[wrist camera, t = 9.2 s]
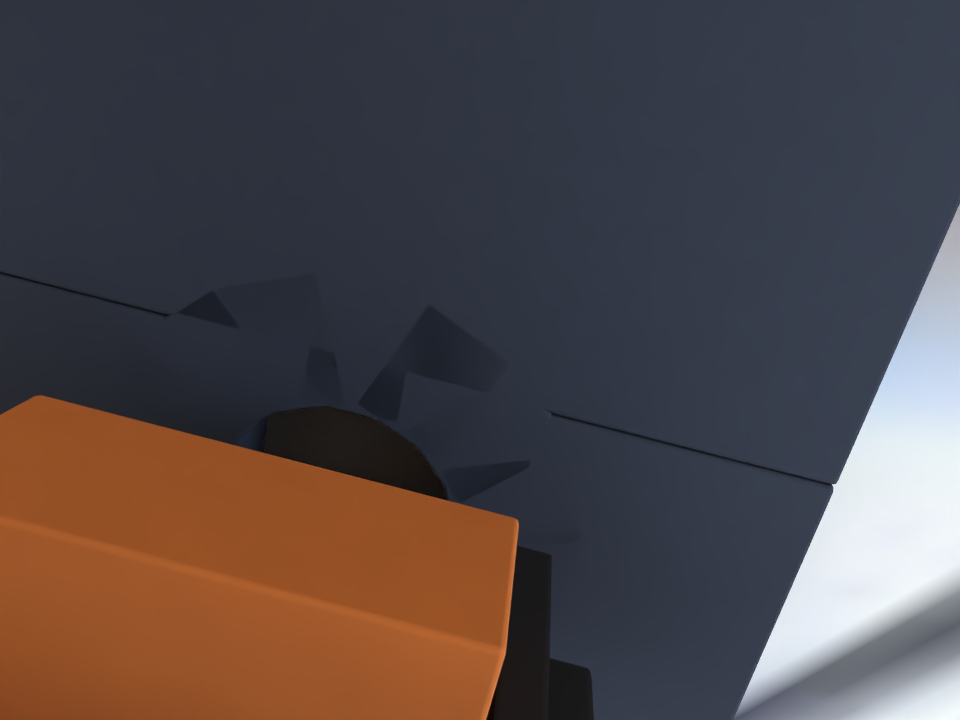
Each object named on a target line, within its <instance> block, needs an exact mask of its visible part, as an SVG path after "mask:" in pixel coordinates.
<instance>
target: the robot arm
mask: <svg viewBox="0 0 960 720" xmlns="http://www.w3.org/2000/svg"><path fill="white" fill-rule="evenodd" d="M551 574H552V555H551V554H548V553H544V552H540V551H536V550H532V549H528V548H525V547H521V546H517V549H516V559H515V568H514V578H513V588H512V598H511V607H510V617H509V627H508V637H507V646H506V655H505V658H504V661H503V665H502V668H501V671H500V675H499V678H498V681H497V685H496V688H495V691H494V695H493V698H492V701H491V705H490V708H489V711H488V715H487V718H486V720H594V710H593V691H592V678H591V672H590V670H589V668H586V667H582V666H578V665H574V664H571V663H567V662H563V661H559V660H556V659H552V658H550V618H551Z"/></svg>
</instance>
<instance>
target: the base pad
mask: <svg viewBox="0 0 960 720" xmlns="http://www.w3.org/2000/svg"><path fill="white" fill-rule="evenodd" d="M959 204H960V0H0V415H1V414H3V413H4V412H6V411H8V410H10V409H12V408H14V407H15V406H17V405H19V404H21V403H23V402H25V401H27V400H28V399H30V398H32V397H34V396H38V395H43V396H47V397H51V398H54V399H58V400H62V401H66V402H70V403H74V404H78V405H81V406H85V407H89V408H93V409H97V410H101V411H105V412H108V413H112V414H116V415H120V416H124V417H128V418H132V419H135V420H139V421H143V422H147V423H151V424H155V425H159V426H162V427H166V428H170V429H174V430H178V431H182V432H186V433H189V434H193V435H197V436H201V437H205V438H209V439H212V440H216V441H220V442H224V443H228V444H232V445H236V446H239V447H243V448H247V449H251V450H255V451H259V452H263V453H264V450H263V446H264V439H265V433H266V426H267V419H268V415H270V414H272V413H274V412H275V411H283V410H291V409H299V408H308V407H316V406H324V405H325V406H328V407H332V408H336V409H340V410H344V411H348V412H352V413H356V414H360V415H363V416H367V417H371V418H375V419H377V420H378V421H379V422H381V423H382V424H384V425H385V426H387V427H388V428H390V429H391V430H392V431H394V432H395V433H397V434H398V435H400V436H401V437H403V438H404V439H405V440H407V441H408V442H410V443H411V444H413V445H414V446H416V447H417V448H418V449H419V451H420V452H421V454H422V455H423V457H424V458H425V460H426V461H427V463H428V464H429V466H430V467H431V469H432V470H433V471H434V473H435V474H436V476H437V477H438V479H439V480H440V482H441V483H442V485H443V486H444V491H445V496H446V500H448V501H451V502H455V503H459V504H463V505H467V506H471V507H475V508H478V509H482V510H486V511H490V512H494V513H498V514H502V515H505V516H509V517H513V518H515V519H517V520H518V523H519V529H518V539H517V546H521V547H525V548H528V549H532V550H536V551H540V552H544V553H548V554H551V555H552V574H551V618H550V658H552V659H556V660H559V661H563V662H567V663H571V664H574V665H578V666H582V667H586V668H589V670H590V672H591V678H592V691H593V710H594V720H733V719H734V716H735V714H736V712H737V710H738V707H739V705H740V703H741V700H742V698H743V696H744V694H745V691H746V689H747V687H748V684H749V682H750V680H751V678H752V675H753V673H754V671H755V669H756V666H757V664H758V662H759V659H760V657H761V655H762V653H763V650H764V648H765V646H766V644H767V641H768V639H769V637H770V634H771V632H772V630H773V628H774V625H775V623H776V621H777V618H778V616H779V614H780V612H781V609H782V607H783V605H784V603H785V600H786V598H787V596H788V593H789V591H790V589H791V587H792V584H793V582H794V580H795V577H796V575H797V573H798V571H799V568H800V566H801V564H802V562H803V559H804V557H805V555H806V552H807V550H808V548H809V546H810V543H811V541H812V539H813V537H814V534H815V532H816V530H817V527H818V525H819V523H820V521H821V518H822V516H823V514H824V511H825V509H826V507H827V505H828V502H829V500H830V498H831V496H832V493H833V486H832V485H831V484H836V483H837V481H838V479H839V477H840V475H841V472H842V470H843V468H844V466H845V463H846V461H847V459H848V457H849V454H850V452H851V450H852V447H853V445H854V443H855V441H856V438H857V436H858V434H859V431H860V429H861V427H862V425H863V422H864V420H865V418H866V416H867V413H868V411H869V409H870V406H871V404H872V402H873V400H874V397H875V395H876V393H877V391H878V388H879V386H880V384H881V381H882V379H883V377H884V375H885V372H886V370H887V368H888V365H889V363H890V361H891V359H892V356H893V354H894V352H895V350H896V347H897V345H898V343H899V340H900V338H901V336H902V334H903V331H904V329H905V327H906V324H907V322H908V320H909V318H910V315H911V313H912V311H913V309H914V306H915V304H916V302H917V299H918V297H919V295H920V293H921V290H922V288H923V286H924V284H925V281H926V279H927V277H928V274H929V272H930V270H931V268H932V265H933V263H934V261H935V258H936V256H937V254H938V252H939V249H940V247H941V245H942V243H943V240H944V238H945V236H946V233H947V231H948V229H949V227H950V224H951V222H952V220H953V217H954V215H955V213H956V211H957V208H958V206H959Z"/></svg>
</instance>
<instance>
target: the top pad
mask: <svg viewBox="0 0 960 720" xmlns="http://www.w3.org/2000/svg"><path fill="white" fill-rule="evenodd" d="M518 529H519V523H518V520H517V519H515V518H513V517H509V516H505V515H502V514H498V513H494V512H490V511H486V510H482V509H478V508H475V507H471V506H467V505H463V504H459V503H455V502H451V501H448V500H444V499H440V498H436V497H432V496H428V495H424V494H421V493H417V492H413V491H409V490H405V489H401V488H397V487H394V486H390V485H386V484H382V483H378V482H374V481H370V480H367V479H363V478H359V477H355V476H351V475H347V474H344V473H340V472H336V471H332V470H328V469H324V468H320V467H317V466H313V465H309V464H305V463H301V462H297V461H293V460H290V459H286V458H282V457H278V456H274V455H270V454H266V453H263V452H259V451H255V450H251V449H247V448H243V447H239V446H236V445H232V444H228V443H224V442H220V441H216V440H212V439H209V438H205V437H201V436H197V435H193V434H189V433H186V432H182V431H178V430H174V429H170V428H166V427H162V426H159V425H155V424H151V423H147V422H143V421H139V420H135V419H132V418H128V417H124V416H120V415H116V414H112V413H108V412H105V411H101V410H97V409H93V408H89V407H85V406H81V405H78V404H74V403H70V402H66V401H62V400H58V399H54V398H51V397H47V396H43V395H38V396H34V397H32V398H30V399H28V400H27V401H25V402H23V403H21V404H19V405H17V406H15V407H14V408H12V409H10V410H8V411H6V412H4V413H3V414H1V415H0V720H486V718H487V715H488V711H489V708H490V705H491V701H492V698H493V695H494V691H495V688H496V685H497V681H498V678H499V675H500V671H501V668H502V665H503V661H504V658H505V655H506V646H507V637H508V627H509V617H510V607H511V598H512V588H513V578H514V568H515V559H516V549H517V539H518Z"/></svg>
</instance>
